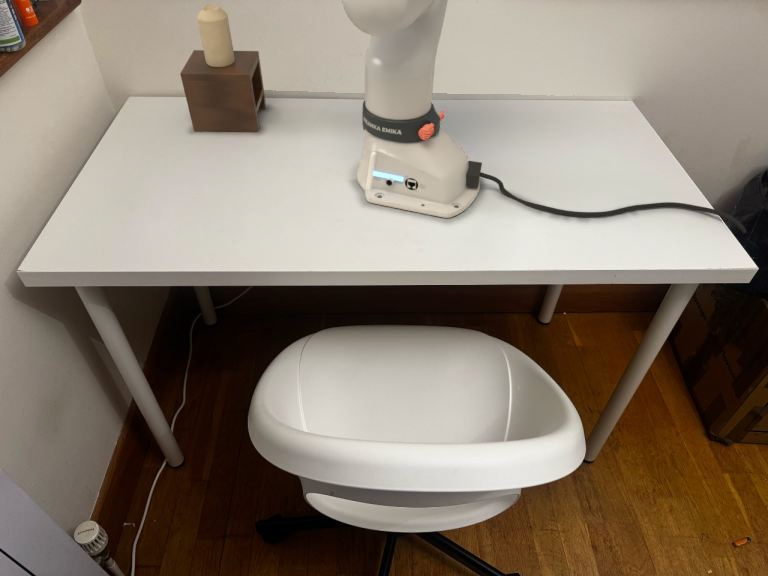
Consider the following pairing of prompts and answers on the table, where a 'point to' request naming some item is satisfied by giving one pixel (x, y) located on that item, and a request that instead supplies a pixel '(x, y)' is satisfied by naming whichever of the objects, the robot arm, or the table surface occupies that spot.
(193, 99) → the shelf
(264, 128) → the table surface
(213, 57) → the candle
